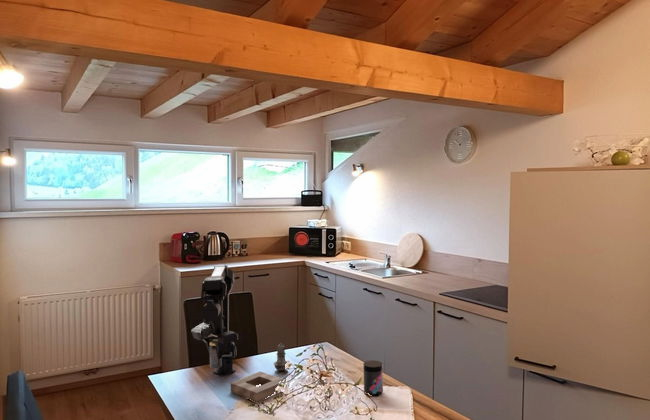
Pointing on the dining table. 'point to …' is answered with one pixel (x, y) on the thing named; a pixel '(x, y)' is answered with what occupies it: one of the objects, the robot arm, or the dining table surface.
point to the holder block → (249, 389)
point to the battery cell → (214, 356)
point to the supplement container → (373, 377)
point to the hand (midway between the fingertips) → (215, 357)
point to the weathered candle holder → (280, 360)
